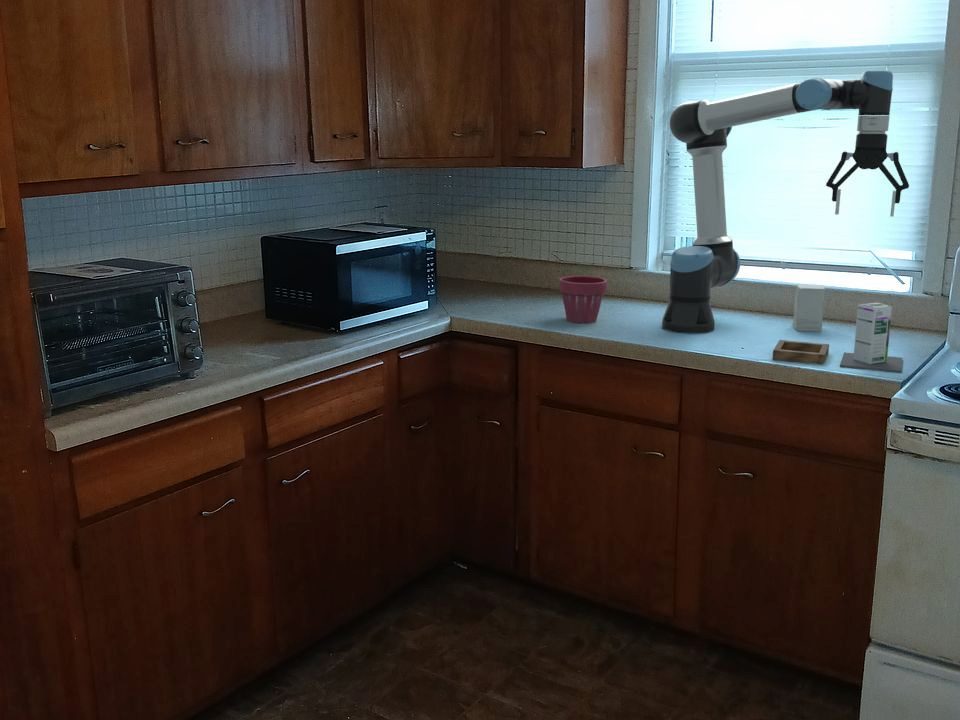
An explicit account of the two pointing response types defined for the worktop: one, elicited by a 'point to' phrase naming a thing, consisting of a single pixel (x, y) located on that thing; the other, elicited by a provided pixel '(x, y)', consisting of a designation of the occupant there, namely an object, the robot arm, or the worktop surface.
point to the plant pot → (582, 297)
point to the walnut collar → (801, 352)
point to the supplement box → (808, 307)
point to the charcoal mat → (891, 365)
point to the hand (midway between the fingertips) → (864, 215)
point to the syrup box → (872, 333)
